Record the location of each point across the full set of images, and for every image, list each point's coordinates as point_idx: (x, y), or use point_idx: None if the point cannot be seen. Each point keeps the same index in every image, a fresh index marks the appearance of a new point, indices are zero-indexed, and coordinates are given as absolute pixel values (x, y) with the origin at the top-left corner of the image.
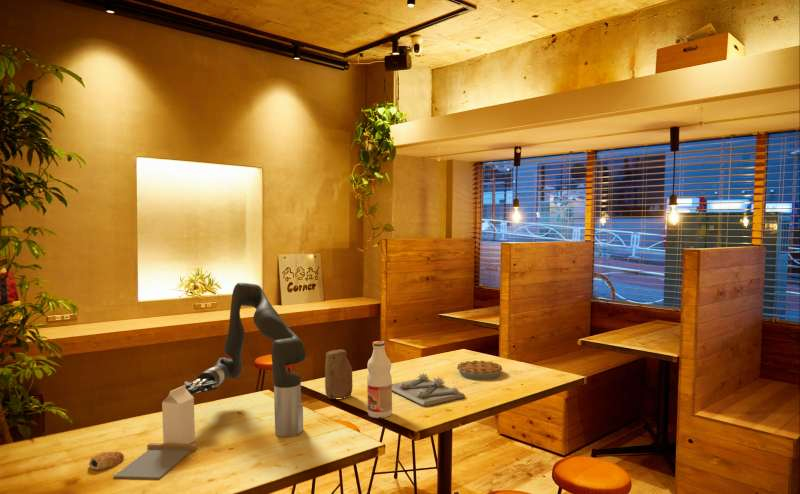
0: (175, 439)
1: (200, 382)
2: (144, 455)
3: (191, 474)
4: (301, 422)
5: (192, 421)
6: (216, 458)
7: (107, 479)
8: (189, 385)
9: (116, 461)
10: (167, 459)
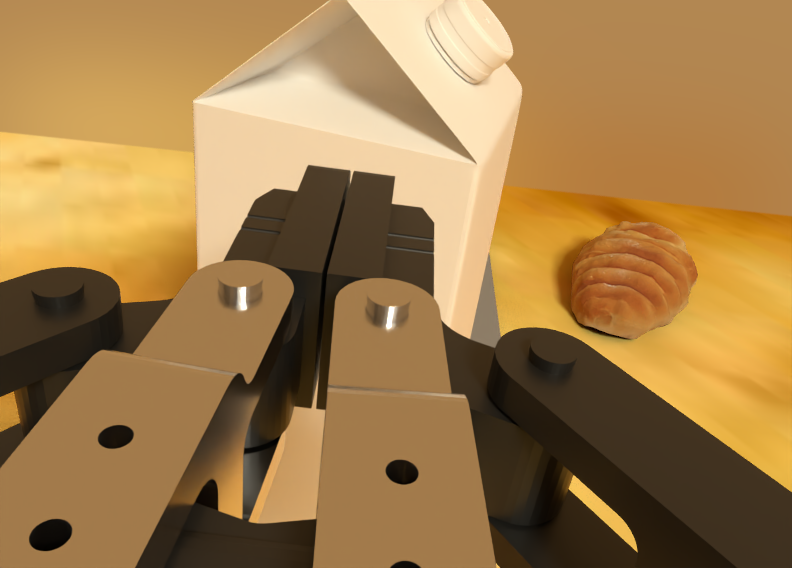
0: None
1: (157, 377)
2: (477, 324)
3: (142, 196)
4: None
5: None
6: None
7: (498, 212)
8: (503, 336)
9: (572, 276)
10: None
